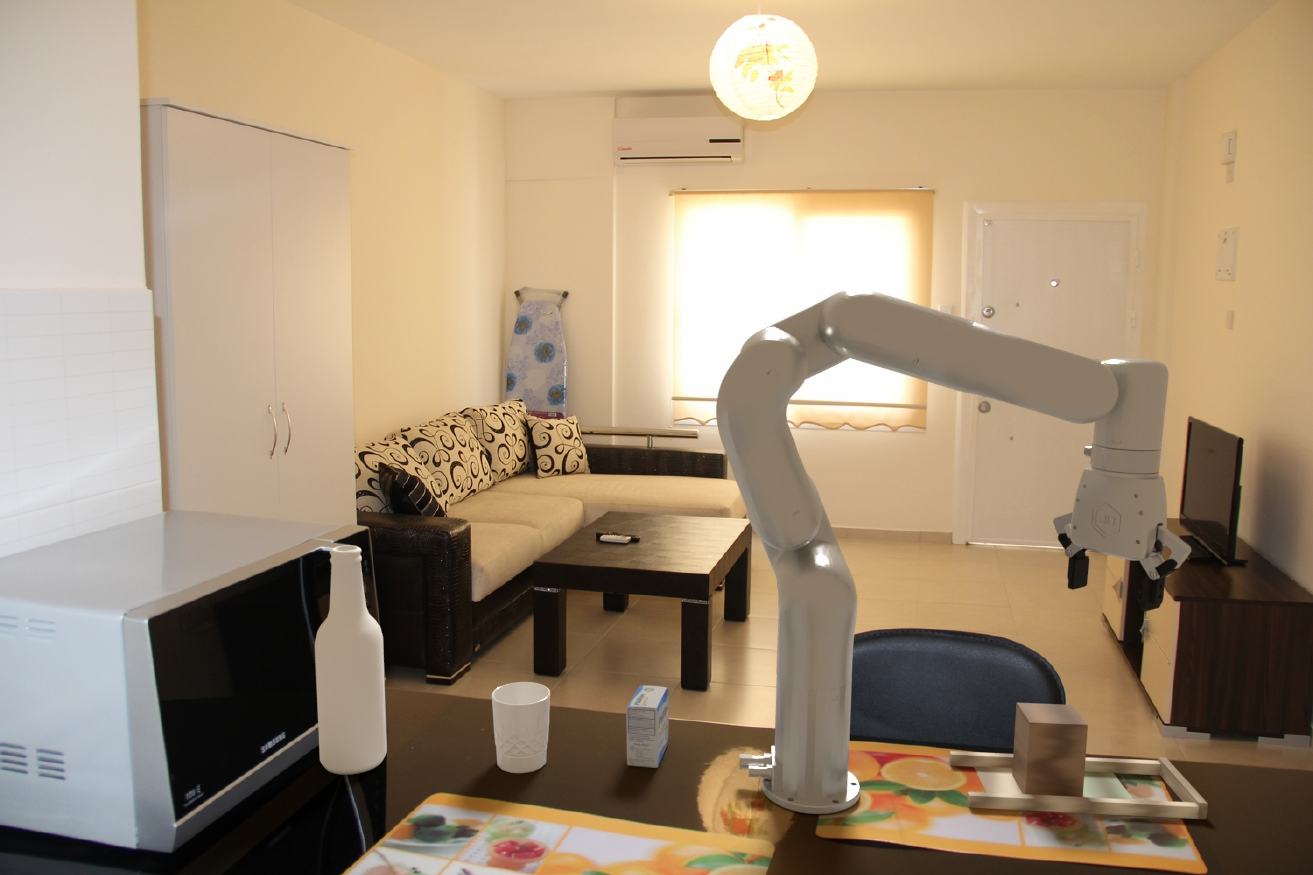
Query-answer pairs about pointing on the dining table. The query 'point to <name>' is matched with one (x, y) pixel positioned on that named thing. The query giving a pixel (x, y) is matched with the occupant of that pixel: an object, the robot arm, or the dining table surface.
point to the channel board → (1098, 788)
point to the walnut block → (1049, 749)
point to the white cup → (521, 726)
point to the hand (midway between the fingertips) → (1112, 597)
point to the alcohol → (350, 673)
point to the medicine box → (647, 726)
